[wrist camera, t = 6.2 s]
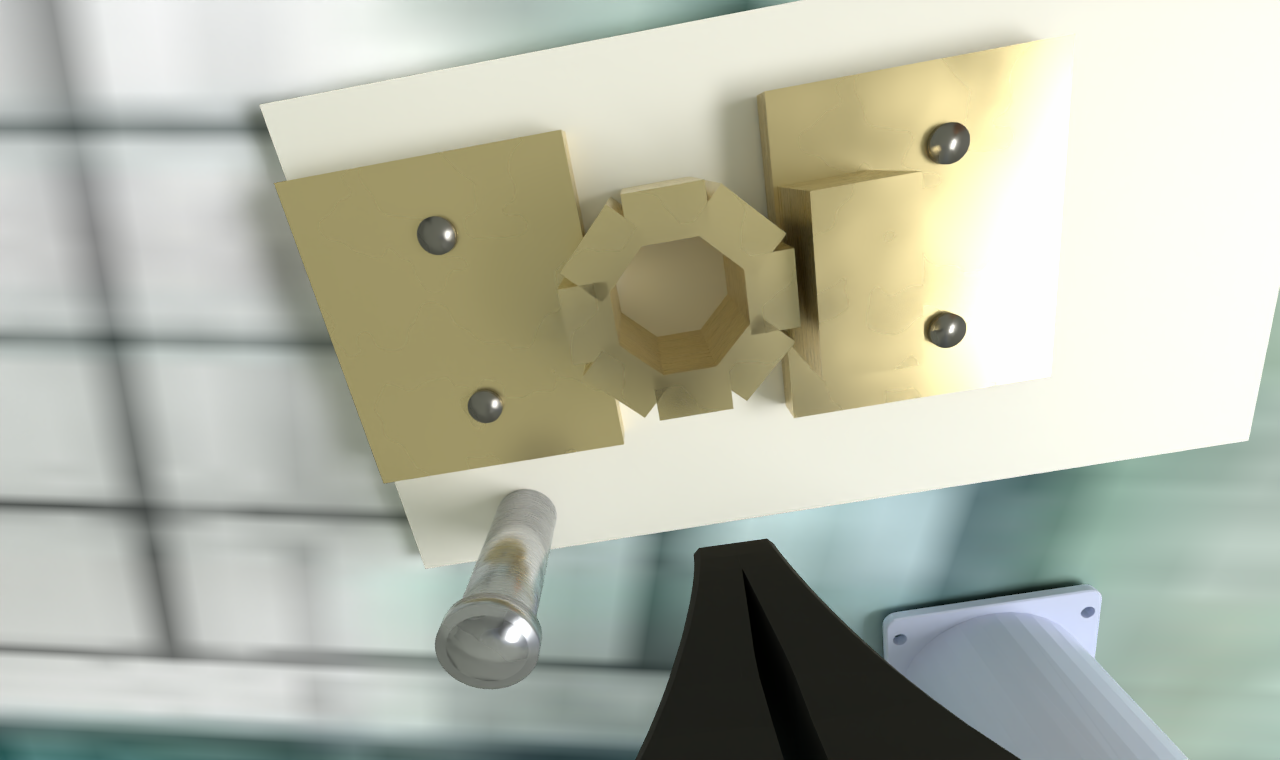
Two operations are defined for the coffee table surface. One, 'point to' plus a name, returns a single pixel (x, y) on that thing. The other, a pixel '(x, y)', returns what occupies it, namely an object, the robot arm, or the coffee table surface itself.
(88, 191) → the coffee table surface
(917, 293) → the loose leaf
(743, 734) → the robot arm
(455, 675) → the pin
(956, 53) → the board
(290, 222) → the fixed leaf
